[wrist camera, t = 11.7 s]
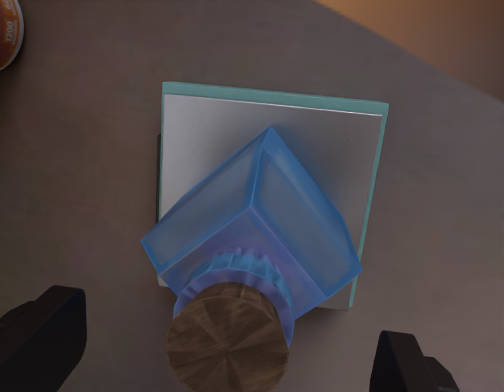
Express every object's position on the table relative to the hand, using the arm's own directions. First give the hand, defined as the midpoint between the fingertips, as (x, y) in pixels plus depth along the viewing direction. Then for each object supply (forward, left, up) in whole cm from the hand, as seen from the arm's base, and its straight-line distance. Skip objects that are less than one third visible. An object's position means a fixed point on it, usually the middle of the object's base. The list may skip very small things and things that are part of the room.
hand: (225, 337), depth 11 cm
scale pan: (0, 0, -12) cm, 12 cm away
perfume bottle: (0, 0, -12) cm, 12 cm away
